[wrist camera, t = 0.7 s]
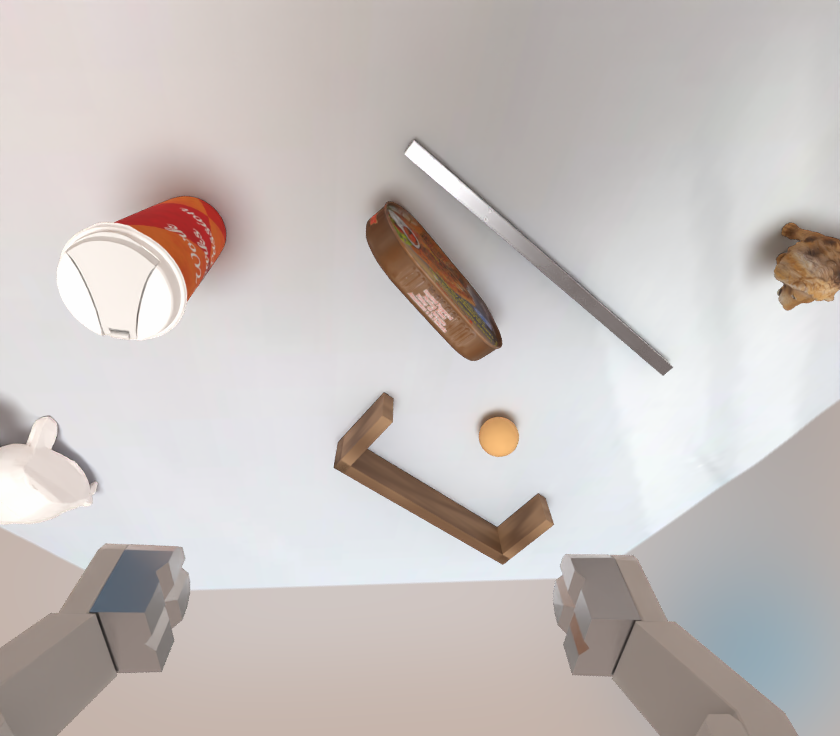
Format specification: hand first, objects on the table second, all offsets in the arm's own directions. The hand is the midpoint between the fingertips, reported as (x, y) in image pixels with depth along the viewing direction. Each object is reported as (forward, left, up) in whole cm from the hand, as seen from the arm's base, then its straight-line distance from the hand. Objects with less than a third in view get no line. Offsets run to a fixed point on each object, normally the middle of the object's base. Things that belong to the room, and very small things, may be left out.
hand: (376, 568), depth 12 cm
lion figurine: (-19, +32, -38) cm, 53 cm away
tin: (+3, +6, -38) cm, 38 cm away
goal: (+20, +22, -37) cm, 48 cm away
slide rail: (-4, +14, -37) cm, 40 cm away
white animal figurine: (+44, -13, -38) cm, 59 cm away
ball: (+12, +22, -35) cm, 43 cm away
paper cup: (+13, -12, -37) cm, 41 cm away
